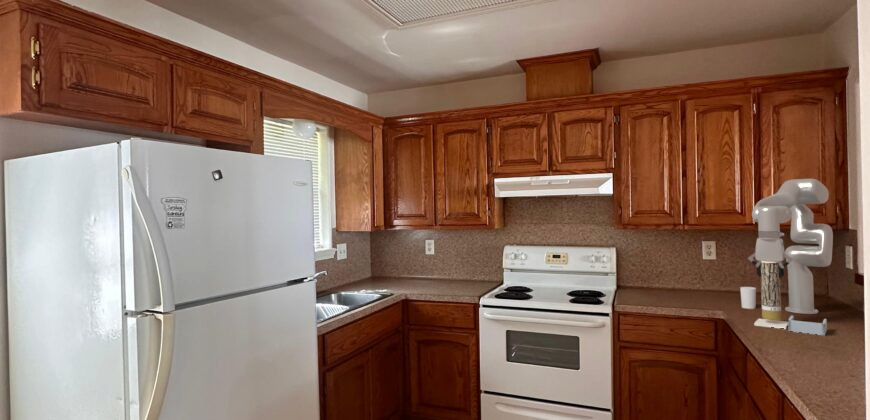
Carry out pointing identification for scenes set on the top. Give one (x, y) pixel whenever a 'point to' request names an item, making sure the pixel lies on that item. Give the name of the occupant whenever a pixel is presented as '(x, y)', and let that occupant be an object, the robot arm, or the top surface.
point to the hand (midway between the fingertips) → (770, 276)
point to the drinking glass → (748, 297)
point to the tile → (771, 323)
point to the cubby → (807, 326)
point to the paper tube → (770, 290)
